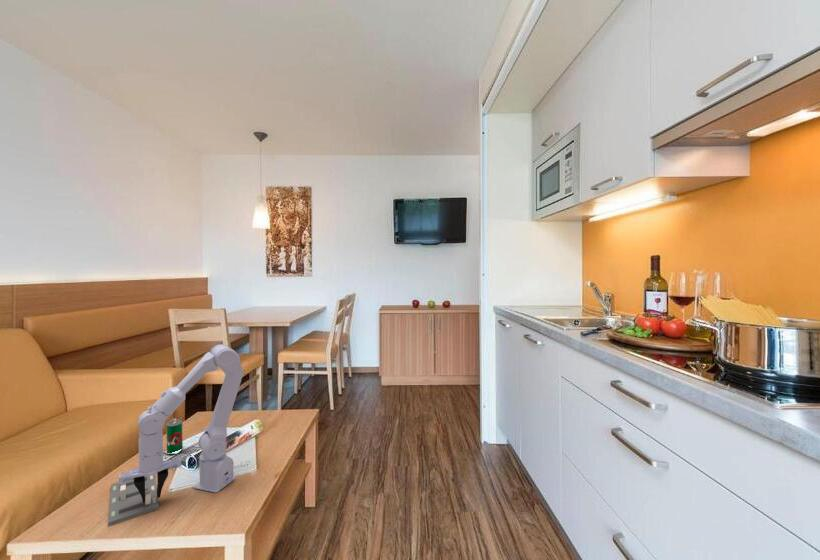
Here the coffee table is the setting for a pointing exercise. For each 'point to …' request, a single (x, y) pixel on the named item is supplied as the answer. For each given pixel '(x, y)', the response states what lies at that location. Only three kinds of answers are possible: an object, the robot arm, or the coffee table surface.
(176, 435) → the soda can
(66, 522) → the coffee table surface
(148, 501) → the handle
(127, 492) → the breaker panel
